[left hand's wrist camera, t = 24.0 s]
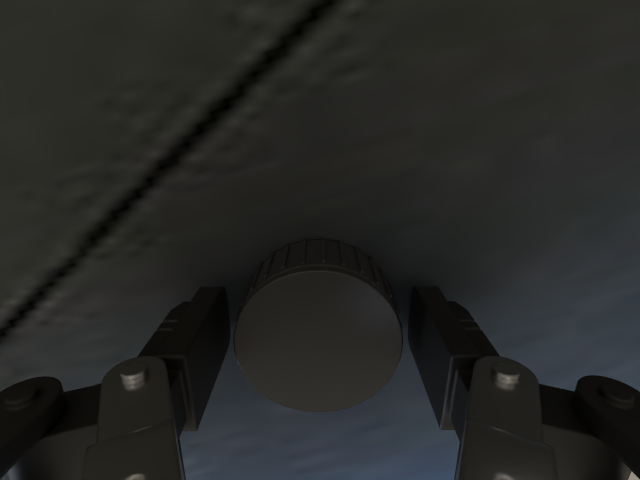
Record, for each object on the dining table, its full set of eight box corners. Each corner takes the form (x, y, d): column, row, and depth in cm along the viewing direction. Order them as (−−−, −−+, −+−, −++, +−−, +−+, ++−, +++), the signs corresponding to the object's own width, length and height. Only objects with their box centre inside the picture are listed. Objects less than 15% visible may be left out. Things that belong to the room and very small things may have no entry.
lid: (365, 215, 11) (376, 242, 9) (407, 339, 13) (425, 388, 11) (222, 264, 12) (200, 301, 10) (279, 378, 14) (271, 431, 11)
